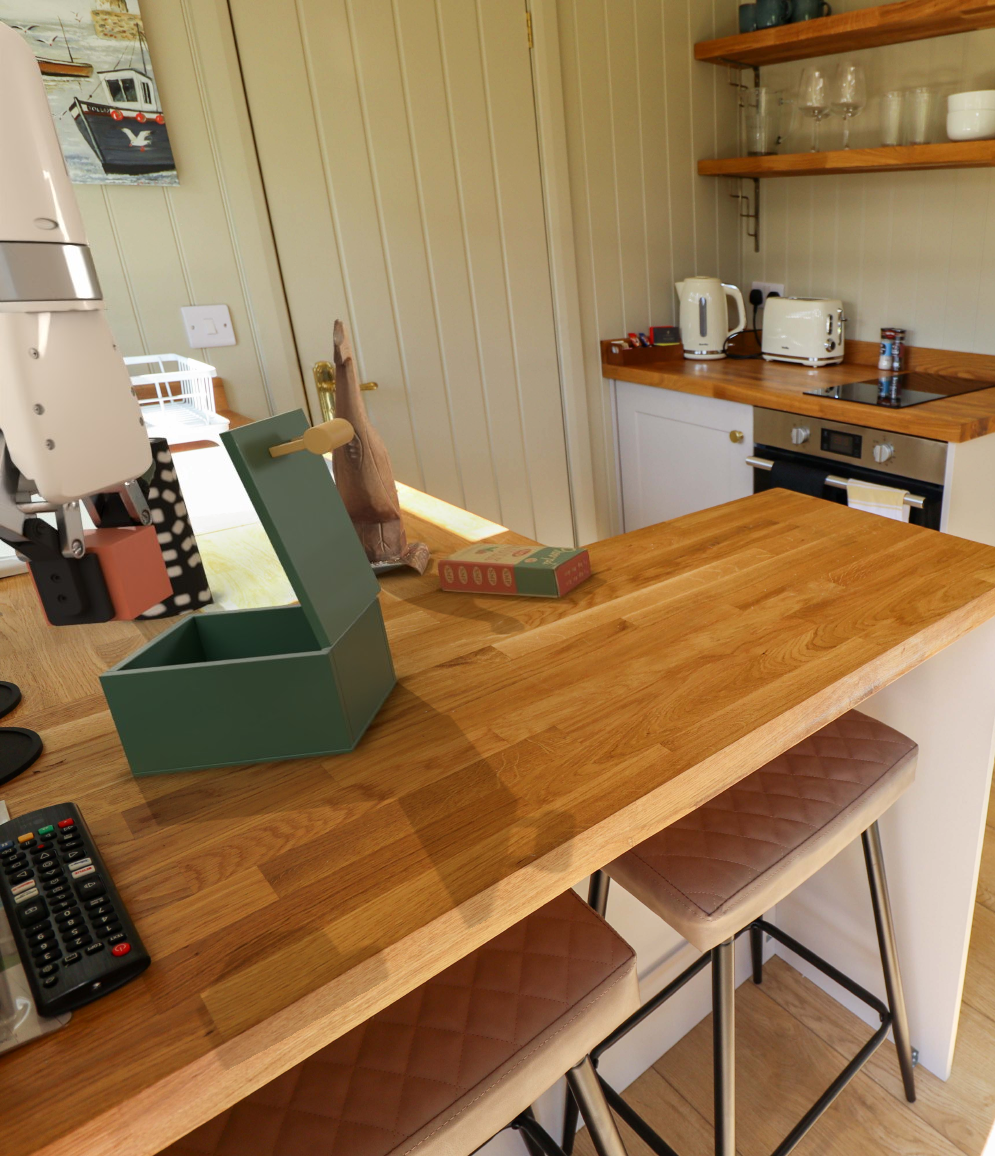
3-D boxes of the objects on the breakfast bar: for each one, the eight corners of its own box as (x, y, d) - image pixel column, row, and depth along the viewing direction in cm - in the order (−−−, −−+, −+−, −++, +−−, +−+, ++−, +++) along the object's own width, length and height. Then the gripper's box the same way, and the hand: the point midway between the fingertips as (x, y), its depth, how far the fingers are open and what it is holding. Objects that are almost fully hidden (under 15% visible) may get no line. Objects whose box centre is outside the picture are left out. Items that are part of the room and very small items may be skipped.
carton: (482, 572, 107) (477, 540, 105) (593, 578, 102) (589, 545, 101) (441, 593, 99) (435, 560, 98) (559, 601, 95) (555, 566, 93)
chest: (134, 782, 62) (97, 676, 59) (215, 705, 73) (188, 613, 70) (353, 757, 64) (328, 653, 61) (398, 685, 75) (378, 596, 72)
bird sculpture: (329, 592, 102) (265, 322, 91) (343, 566, 112) (287, 321, 102) (425, 579, 105) (374, 317, 94) (430, 554, 115) (384, 316, 105)
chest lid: (217, 433, 55) (296, 413, 55) (292, 410, 67) (357, 393, 67) (321, 649, 60) (392, 629, 61) (373, 592, 72) (432, 576, 73)
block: (132, 620, 48) (109, 546, 46) (47, 626, 47) (21, 551, 46) (173, 593, 52) (154, 525, 50) (95, 599, 51) (73, 529, 50)
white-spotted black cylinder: (118, 615, 97) (63, 447, 91) (196, 594, 104) (149, 435, 97) (146, 628, 93) (90, 452, 86) (226, 605, 99) (179, 439, 93)
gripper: (42, 288, 51) (127, 567, 57) (-229, 284, 35) (-72, 672, 41) (173, 284, 52) (243, 559, 58) (-33, 279, 36) (92, 659, 42)
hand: (111, 603), depth 49 cm, fingers closed on block, 4 cm apart
